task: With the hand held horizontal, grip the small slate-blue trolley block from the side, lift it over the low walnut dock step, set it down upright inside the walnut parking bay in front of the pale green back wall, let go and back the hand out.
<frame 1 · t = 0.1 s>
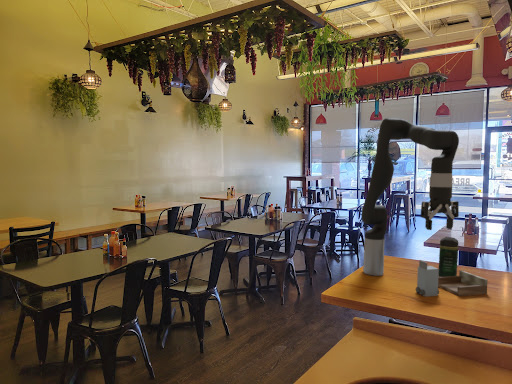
hand: (439, 229, 145), 29 cm above the table, tool pointing down, fingers open, 8 cm apart
coffee jar: (447, 276, 186), on the table
trolley: (427, 294, 161), on the table
bay: (446, 290, 165), on the table
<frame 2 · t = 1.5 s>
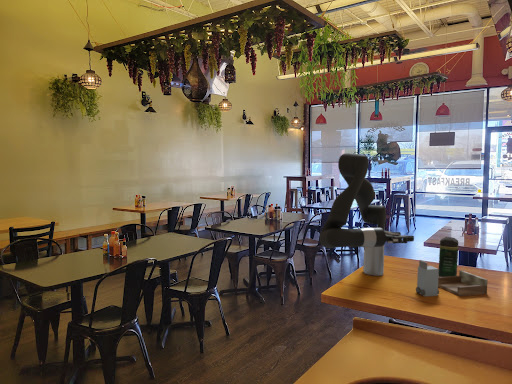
hand: (406, 236, 157), 24 cm above the table, tool horizontal, fingers open, 8 cm apart
nothing on the table moved.
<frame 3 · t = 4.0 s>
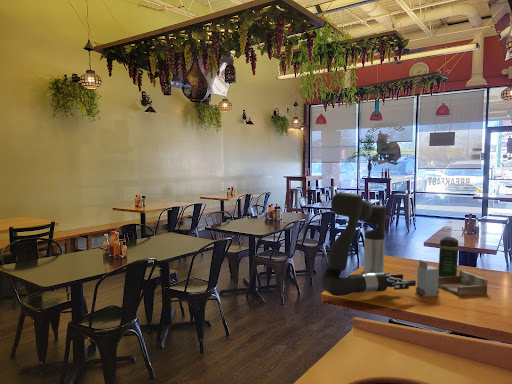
hand: (408, 279, 158), 6 cm above the table, tool horizontal, fingers open, 8 cm apart
nothing on the table moved.
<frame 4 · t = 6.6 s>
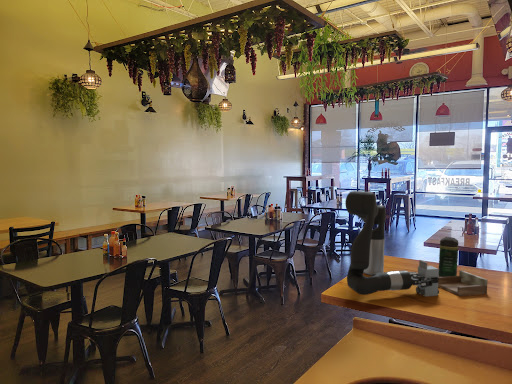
hand: (433, 277, 161), 7 cm above the table, tool horizontal, fingers closed on trolley, 5 cm apart
trolley: (427, 293, 161), on the table, touching gripper
everything else where it was.
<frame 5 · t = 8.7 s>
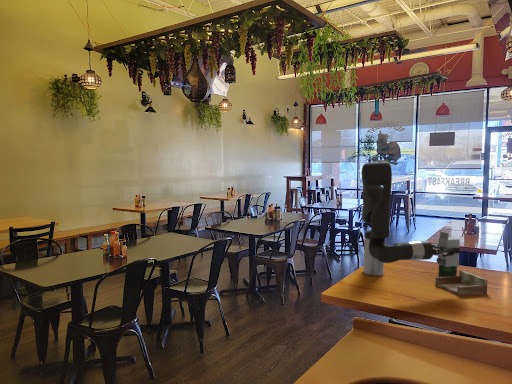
hand: (454, 248, 163), 18 cm above the table, tool horizontal, fingers closed on trolley, 5 cm apart
trolley: (448, 264, 163), point 11 cm above the table, touching gripper
everything else where it was.
when the fingers open (9 cm above the table, at t = 11.3 s): trolley drops 1 cm, resting on bay.
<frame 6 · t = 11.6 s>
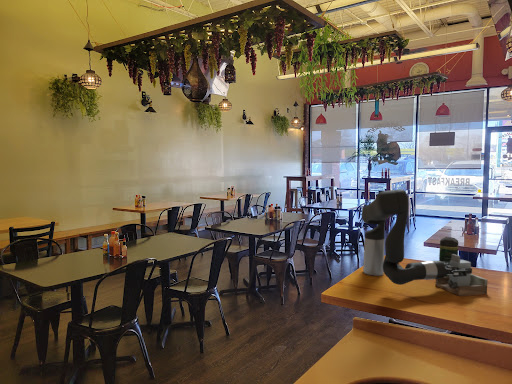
hand: (464, 268, 166), 9 cm above the table, tool horizontal, fingers open, 8 cm apart
trolley: (459, 286, 166), point 1 cm above the table, touching bay
everything else where it was.
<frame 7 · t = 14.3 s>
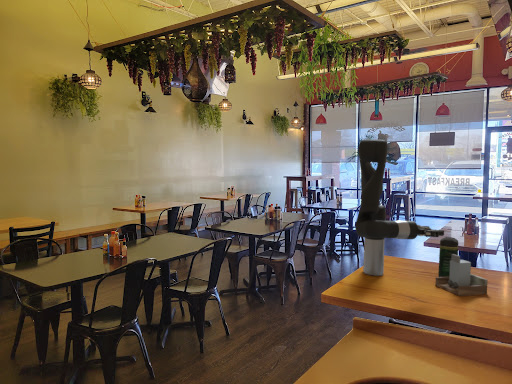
hand: (435, 230, 164), 25 cm above the table, tool horizontal, fingers open, 8 cm apart
nothing on the table moved.
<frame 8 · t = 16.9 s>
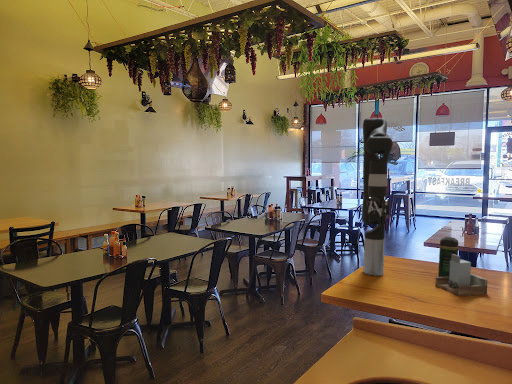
hand: (376, 223, 164), 28 cm above the table, tool pointing down, fingers open, 8 cm apart
nothing on the table moved.
at the end: trolley inside the target area on the bay (0.5 cm from its centre), point 1.2 cm above the bay's base; trolley tilted 0°; the gripper is holding nothing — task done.
